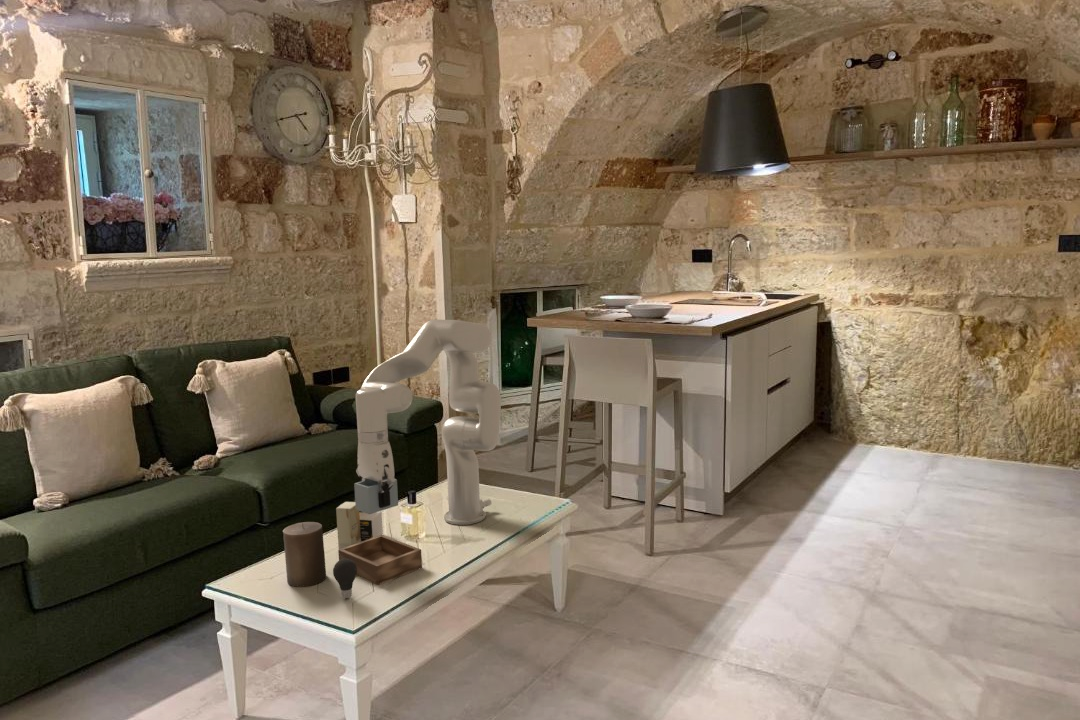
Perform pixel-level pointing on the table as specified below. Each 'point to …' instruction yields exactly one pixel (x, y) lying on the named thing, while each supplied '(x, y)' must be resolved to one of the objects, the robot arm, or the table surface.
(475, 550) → the table surface
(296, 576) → the pillar candle
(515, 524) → the table surface
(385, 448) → the robot arm
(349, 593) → the light bulb
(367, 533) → the medicine bottle
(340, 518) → the skincare box
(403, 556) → the walnut crate
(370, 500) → the grey crate
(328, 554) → the table surface
